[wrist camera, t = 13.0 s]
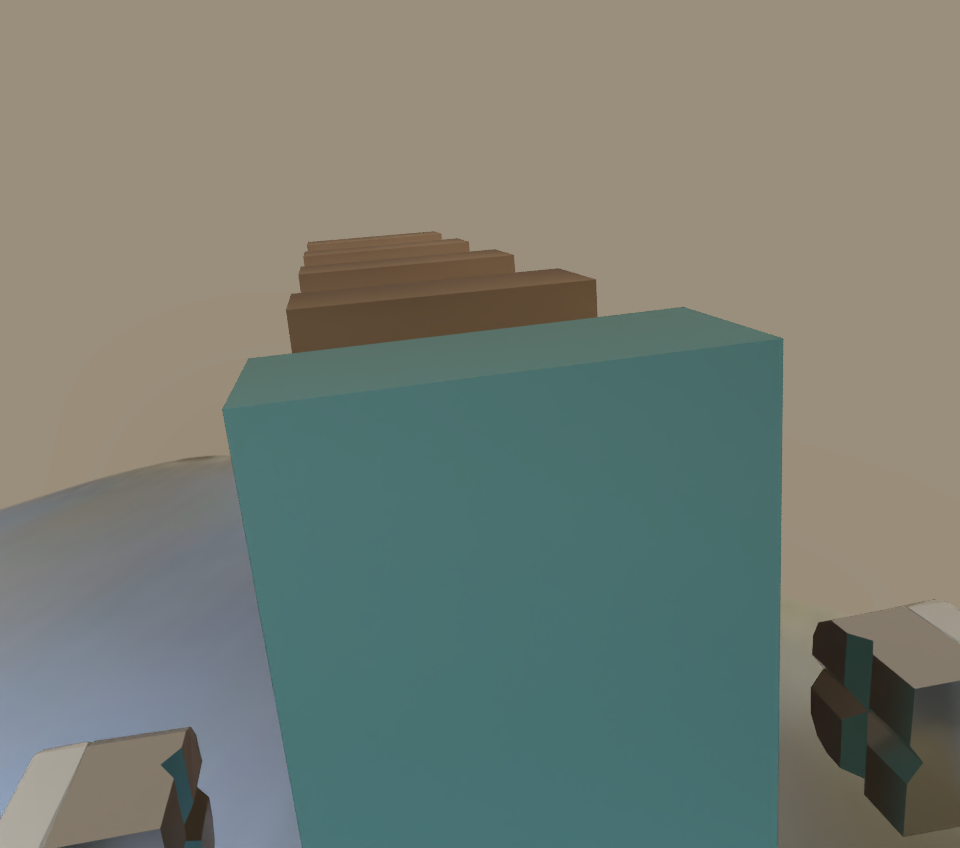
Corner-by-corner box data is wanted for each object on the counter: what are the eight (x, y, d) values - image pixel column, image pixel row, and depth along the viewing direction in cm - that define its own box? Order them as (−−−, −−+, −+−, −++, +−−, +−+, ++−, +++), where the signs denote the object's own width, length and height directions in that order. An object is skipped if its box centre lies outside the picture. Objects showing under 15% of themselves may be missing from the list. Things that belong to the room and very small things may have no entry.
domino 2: (620, 936, 15) (596, 279, 12) (380, 990, 15) (286, 310, 11) (587, 855, 17) (558, 268, 14) (374, 899, 17) (291, 293, 13)
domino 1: (544, 749, 21) (514, 255, 17) (365, 781, 20) (298, 274, 17) (525, 702, 22) (495, 249, 19) (362, 731, 22) (300, 266, 19)
